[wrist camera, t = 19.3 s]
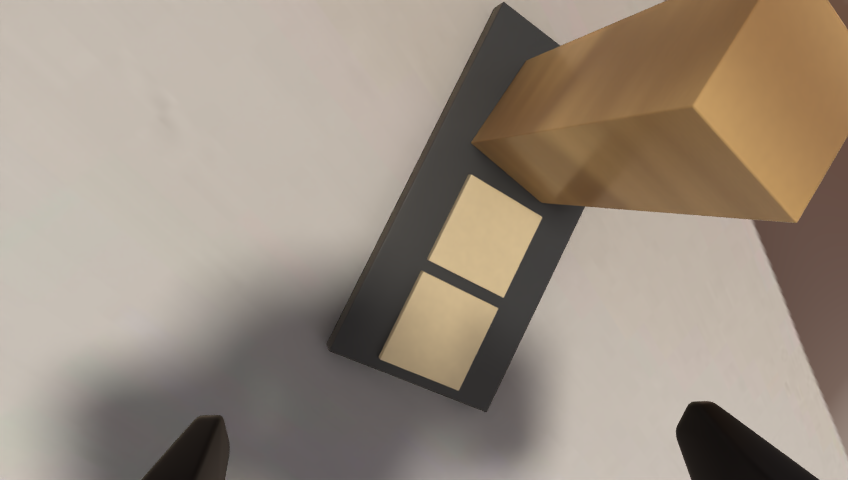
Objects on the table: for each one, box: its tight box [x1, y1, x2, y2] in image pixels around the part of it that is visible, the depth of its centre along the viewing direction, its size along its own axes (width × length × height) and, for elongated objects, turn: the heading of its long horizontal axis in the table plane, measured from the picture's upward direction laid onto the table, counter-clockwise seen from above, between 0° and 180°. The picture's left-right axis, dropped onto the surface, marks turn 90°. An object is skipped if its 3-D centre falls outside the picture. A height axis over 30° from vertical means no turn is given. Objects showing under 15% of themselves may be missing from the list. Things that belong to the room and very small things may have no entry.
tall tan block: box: [471, 0, 848, 223], centre depth 16 cm, size 4×4×11 cm
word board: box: [327, 2, 585, 412], centre depth 22 cm, size 16×8×1 cm, turn 152°
